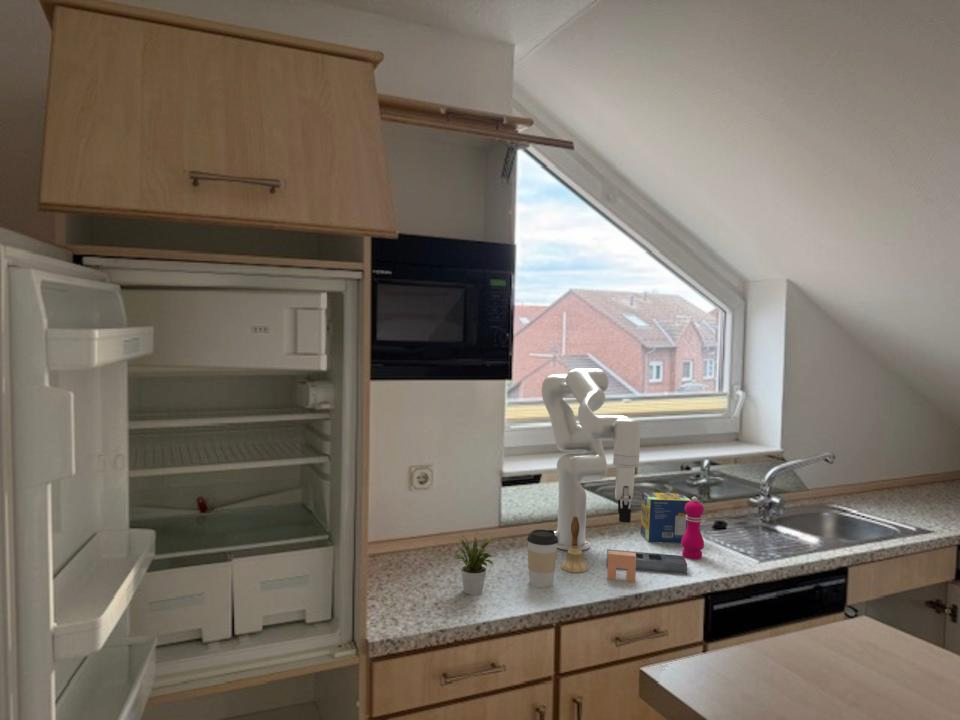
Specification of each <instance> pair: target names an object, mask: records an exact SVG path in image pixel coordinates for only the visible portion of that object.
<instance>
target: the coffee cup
mask: <svg viewBox="0 0 960 720" xmlns="http://www.w3.org/2000/svg"><path fill="white" fill-rule="evenodd" d="M554 531H555V530H552V529H534V530H532V531H531V532H530V533H529V534H527V538H526V541H527V549H526V550H527V564H528V565H527V568H528V576H529V577H528V579H529V580H528V581H529V584H530V585H531V586H533V587H537V588H550V587H552V586H553V585H554V579H555V578H554V577H555V571H556V563H557V555H558V548H557V543H558V537H557V536H556V535H555V533H554Z"/></svg>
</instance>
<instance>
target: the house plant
mask: <svg viewBox="0 0 960 720" xmlns="http://www.w3.org/2000/svg"><path fill="white" fill-rule="evenodd" d="M478 533H479V532H478V531H477V532H476V534H475V536H474V539H473V544H472V548H470V545H469V542H468V540H467V538H466V537H465V536H464V535H462V534H460V536H458V537H457V538H458V540H460V541H461V543H462V544H458V545H457V546H460V547H458V549H459V550H460V551H461V552H462V554H463V556H464V557H463V556H462V555H461V554H460V553H459V554H458V553H456V554H454V555H452V557H453V558H455V560H458V561H461V562H463V563H464V564H465V565H463V566H462V567H461V568H460V570H461V579H462V585H463V586H462V588H463V592H464V593H465V594H467V595H471V596H475V595H477V596H478V595H481V594H482V593H483V590H484V585H485V580H486V575H487V568H488V563H489V564H491V565H492V567H494V565H493V564H494V562H493V561H492V560H490V559H487V558H491V557H492V558H493V557H494V556H493V555H492V554H490V553H489V552H485V551H486V549H488V547H491V546H492V545H493V546H494V543H492V544H490V545H489V542H490V541H491V539H493V538H494V535H493V536H490V537H489V538H487V539H486V540H485V541H484V542H483V544H482V545H480V547H479V548H478V546H479V544H480V542H482V541H483V540H484V539H485V538H486V537H485V538H482V539H481V540H480V541H479V542H478V538H477V536H478ZM461 536H462V537H463V538H464V539H465V540H464V539H463V538H462V537H461ZM446 538H448V539H450V537H447V536H446ZM451 539H452V540H454V541H456V539H455V538H454V537H451ZM488 545H489V546H488ZM487 546H488V547H487ZM486 547H487V548H486ZM464 549H465V550H464Z"/></svg>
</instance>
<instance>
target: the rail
mask: <svg viewBox="0 0 960 720" xmlns="http://www.w3.org/2000/svg"><path fill="white" fill-rule="evenodd" d="M608 551H619V552H631V553H636V570H639V571H651V572H661V573H670V574H671V573H672V574H680V573H682V574H681V575H687V574H688V563H687V560H686V557H684V556H683V555H676V554H675V555H674V554H668V553H667V554H665V553H655V552H642V551H641V552H640V551H629V550H621V549H619V550H618V549H608V548H607V549H606V566H607V568H608Z"/></svg>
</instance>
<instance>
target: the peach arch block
mask: <svg viewBox="0 0 960 720" xmlns="http://www.w3.org/2000/svg"><path fill="white" fill-rule="evenodd" d="M617 569H623V570H626V575H625V576H626V582H627V581H628V582H636V570H637V569H636V553H631V552H619V551H608V567H607V571H606V572H607V575H606V576H607V579H608V580H616V579H617Z"/></svg>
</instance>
